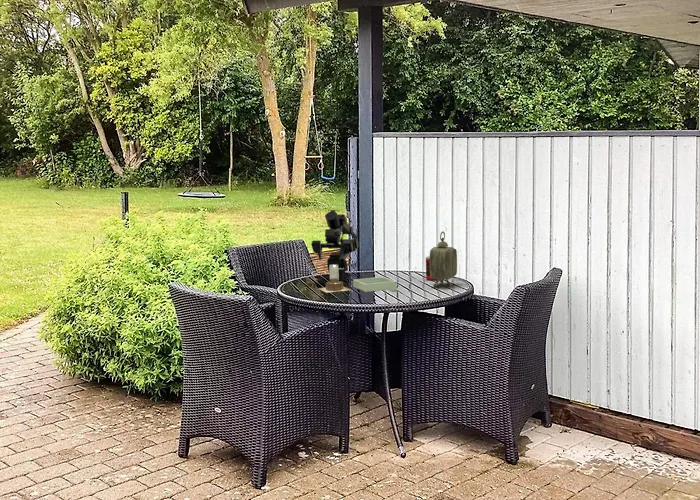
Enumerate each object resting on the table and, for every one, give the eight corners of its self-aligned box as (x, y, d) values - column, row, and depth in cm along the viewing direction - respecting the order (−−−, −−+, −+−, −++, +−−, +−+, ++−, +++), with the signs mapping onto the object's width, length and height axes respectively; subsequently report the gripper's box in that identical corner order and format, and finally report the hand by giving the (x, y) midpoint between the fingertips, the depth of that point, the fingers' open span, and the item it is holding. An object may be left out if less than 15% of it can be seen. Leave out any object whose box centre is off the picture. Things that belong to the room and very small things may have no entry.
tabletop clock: (439, 282, 364) (438, 229, 361) (458, 283, 361) (457, 230, 358) (430, 288, 351) (428, 233, 348) (449, 289, 348) (448, 233, 345)
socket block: (342, 288, 358) (342, 279, 357) (351, 292, 347) (351, 283, 346) (317, 290, 354) (317, 281, 353) (326, 295, 343) (326, 285, 342)
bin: (383, 286, 360) (383, 276, 360) (396, 291, 346) (396, 281, 346) (353, 289, 355) (352, 279, 354) (365, 294, 341) (365, 284, 340)
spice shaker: (337, 287, 353) (337, 263, 352) (341, 289, 349) (340, 265, 347) (327, 288, 351) (326, 264, 350) (331, 290, 347) (330, 266, 346)
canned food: (444, 278, 376) (444, 256, 375) (439, 281, 369) (438, 258, 368) (429, 277, 379) (428, 255, 378) (423, 280, 372) (423, 257, 371)
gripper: (312, 223, 361) (306, 247, 350) (351, 222, 357) (346, 247, 347) (316, 239, 369) (310, 264, 358) (355, 239, 365) (350, 264, 355)
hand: (329, 259), depth 354 cm, fingers open, 9 cm apart
